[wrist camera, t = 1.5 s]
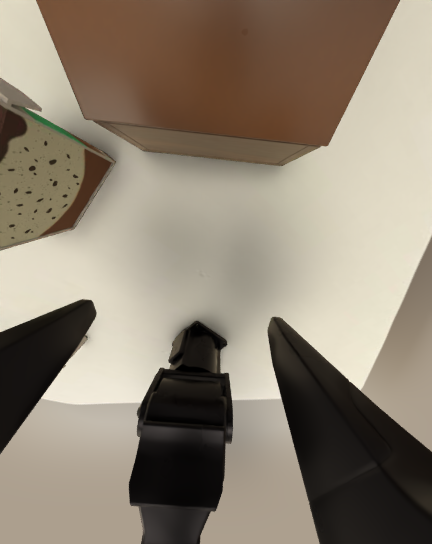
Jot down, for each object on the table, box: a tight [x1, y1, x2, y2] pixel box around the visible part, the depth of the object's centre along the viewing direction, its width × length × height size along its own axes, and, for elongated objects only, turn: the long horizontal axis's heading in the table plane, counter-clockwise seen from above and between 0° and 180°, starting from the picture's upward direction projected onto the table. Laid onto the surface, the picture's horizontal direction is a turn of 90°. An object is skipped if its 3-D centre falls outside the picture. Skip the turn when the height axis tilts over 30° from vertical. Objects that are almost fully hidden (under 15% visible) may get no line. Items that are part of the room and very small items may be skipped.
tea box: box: [93, 120, 321, 166], centre depth 10 cm, size 12×14×7 cm
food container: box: [0, 78, 116, 250], centre depth 12 cm, size 12×6×10 cm, turn 134°
